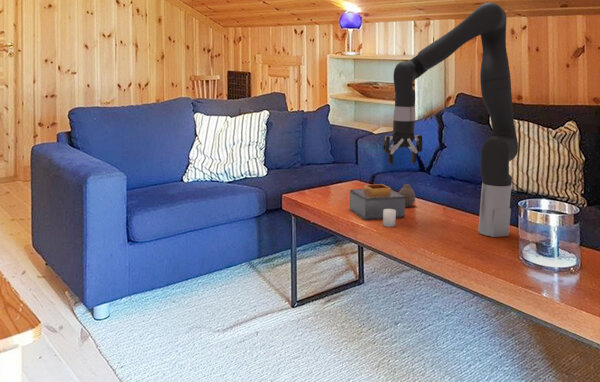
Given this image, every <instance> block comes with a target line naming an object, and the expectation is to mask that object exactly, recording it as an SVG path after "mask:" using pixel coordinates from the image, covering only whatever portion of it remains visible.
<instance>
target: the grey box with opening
mask: <svg viewBox="0 0 600 382" xmlns="http://www.w3.org/2000/svg"><path fill="white" fill-rule="evenodd" d="M405 197H406V196H404V195H402V194H400V193H399V192H397V191H395V190H394V189H392V188H391V187H390V186H387V185H385V184H383V183H379V184H377V183H376V184H375V183H374V184H363V188H355V189H354V188H353V189H349V211H351V212H352V213H354V214H355V213H356V215H357V216H358V217H360V218H362V219H363V220H364V221H369V220H371V221H373V220H383V210H384V209H394V210H396V219H398V218H405V216H406V215H405V214H406V213H405V212H406V207H405Z"/></svg>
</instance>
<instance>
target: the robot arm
mask: <svg viewBox="0 0 600 382" xmlns="http://www.w3.org/2000/svg"><path fill="white" fill-rule="evenodd" d="M506 35H507V14H506V11H505V9H504V8H502V7H501V6H500V5H499V4H497V3H495V2H490V1H489V2H484V3H483V4H481V5H480V6H478V7H477V8H476V9H475V10H473V12H471V13H470V14H469V15H468V16H467V17H466V18H465V19H463V20H462V21H461V22H460V23H459V24H458V25H456V26H455V27H454V28H453V29H451V30H450V31H448V32H446V33H445V34H444V35H442V36H440V37H439V38H438V39H436V40H435V41H433V42H432V43H430V44H428V45H427V46H425V47H424V48H423V49H421V50H420V51H419V52H418V53H417V55H416V56H414V57H412V58H411V59H409V60H408V61H400V62H399V63H398V64H396V65H395V68H394V70H393V87H394V92H395V95H394V110H393V117H392V118H393V121H392V123H393V124H392V135H386V134H385V135H384V136H383V147H382V152H384V153H387V163H388V165H394V153H395V152H396V151H397V150H398V148H401V149H402V148H409V150H410V151H411V152H410V164H412V165H415V164H416V163H417V156H418V155H417V154H418V153H420V152H422V151H423V135H421V134H416V135H415V125H416V124H415V121H416V92H415V90H414V87H413V86H414V85H413V84H414V82H413V81H415V80H417V79H419V78H420V77H422V75H424V74H425V73H426V72H428V70H430V69H432V68H434V67H435V66H437V65H439V64H441V63H442V62H443V61H445V60H447V59H448V58H449V57H450V56H451V55H453V54H454V53H455V52H456V51H457V50H459V49H460V48H461V47H462V46H463V45H465V44H466V43H468V42H469V41H471V40H473V39H475V38H476V37H478V36H480V38H481V39H480V41H481V47H482V57H481V58H482V59H481V63H480V65H481V66H480V74H479V76H480V81H479V82H480V92H481V98H482V101H483V104H484V106H485V109H486V110H487V112H488V115H489V118H490V122H491V129H492V136H491V137H488V138H487V139H486V140H485V141H484V143H483V144H482V148H481V151H480V152H481V153H480V175H481V179H482V180H481V181H482V182H481V192H480V205H479V217H478V218H479V219H478V231H477V232H478V233H479V234H481V235H483V236H488V237H492V238H501V237H508V236H510V224H511V215H512V214H511V213H512V212H511V211H512V209H511V208H510V206H511V205H510V203H511V194H512V183H513V177H512V175H511V174H510V173H509V162H511V161H513V160H514V159H515V158H516V157H517V155H518V152H519V143H518V137H517V131H516V127H515V121H514V110H513V97H512V96H513V95H512V93H513V92H512V79H511V72H510V63H509V57H508V52H507V43H506V42H507V39H506V38H507V36H506ZM391 141H393V142H392V144H391V145H390V142H391ZM414 141H416V142H415V144H416V146H415V145H414V143H413V142H414Z"/></svg>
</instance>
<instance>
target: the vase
mask: <svg viewBox="0 0 600 382" xmlns="http://www.w3.org/2000/svg"><path fill="white" fill-rule="evenodd" d="M398 193H400V194H402V195H404V196H406V197H405V208H411V207H413V205H414V204H415V201H416V193H415V191H414V190H413V188H412V187H411V185H410V184H407V183H406V184H403V186H402V187H401V189H399V192H398Z"/></svg>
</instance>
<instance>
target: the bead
mask: <svg viewBox="0 0 600 382" xmlns="http://www.w3.org/2000/svg"><path fill="white" fill-rule="evenodd" d="M396 219H397V218H396V210H394V209H384V210H383V219H382V226H384V227H387V228H394V227H396Z"/></svg>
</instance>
